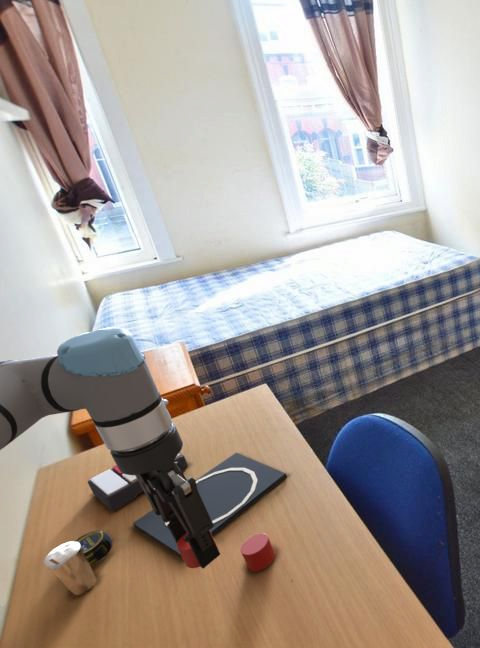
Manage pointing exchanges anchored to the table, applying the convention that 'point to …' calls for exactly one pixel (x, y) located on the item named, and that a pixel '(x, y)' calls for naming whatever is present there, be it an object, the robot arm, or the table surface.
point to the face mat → (220, 496)
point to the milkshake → (71, 567)
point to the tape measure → (95, 545)
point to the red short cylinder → (257, 552)
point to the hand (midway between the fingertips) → (201, 554)
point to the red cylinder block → (188, 553)
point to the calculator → (120, 485)
